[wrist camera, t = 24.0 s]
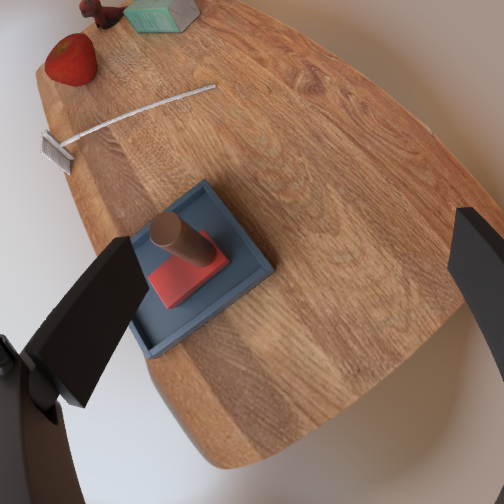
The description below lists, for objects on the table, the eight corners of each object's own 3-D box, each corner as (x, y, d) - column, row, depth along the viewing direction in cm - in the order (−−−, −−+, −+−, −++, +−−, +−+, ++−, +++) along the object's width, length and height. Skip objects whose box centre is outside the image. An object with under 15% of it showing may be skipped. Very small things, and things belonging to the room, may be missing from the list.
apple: (70, 78, 54) (40, 47, 43) (109, 52, 53) (81, 17, 42) (67, 108, 51) (32, 75, 40) (110, 80, 50) (77, 41, 38)
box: (155, 13, 54) (142, -9, 47) (201, 13, 50) (190, -13, 43) (135, 33, 53) (120, 11, 46) (181, 34, 49) (167, 7, 42)
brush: (223, 118, 47) (218, 81, 38) (69, 176, 46) (40, 152, 37) (217, 101, 48) (211, 64, 39) (68, 157, 46) (40, 132, 37)
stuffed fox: (137, 12, 56) (116, -21, 45) (98, 38, 57) (74, 7, 45) (130, 5, 58) (110, -25, 47) (94, 29, 59) (72, 0, 47)
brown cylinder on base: (211, 235, 37) (167, 196, 26) (233, 264, 35) (194, 234, 24) (158, 280, 37) (98, 260, 26) (177, 310, 35) (119, 300, 24)
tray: (210, 186, 39) (204, 178, 37) (275, 271, 35) (272, 267, 33) (108, 269, 40) (98, 266, 37) (156, 358, 35) (147, 359, 33)
